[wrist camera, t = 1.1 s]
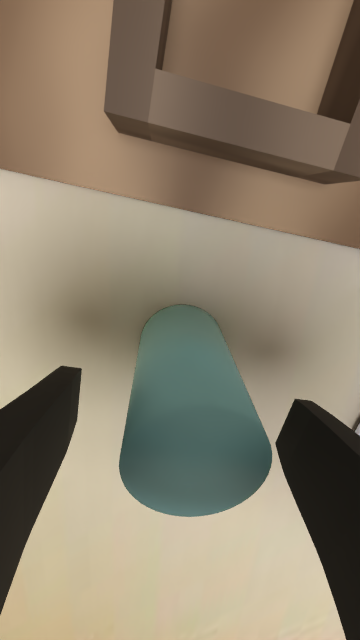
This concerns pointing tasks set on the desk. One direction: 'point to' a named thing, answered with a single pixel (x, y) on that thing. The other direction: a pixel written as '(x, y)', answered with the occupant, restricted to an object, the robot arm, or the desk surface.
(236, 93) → the peg stand
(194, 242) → the desk surface
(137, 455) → the teal peg
